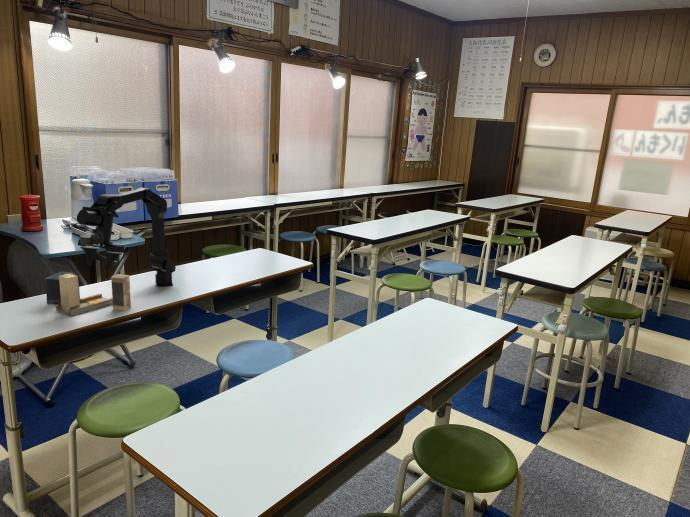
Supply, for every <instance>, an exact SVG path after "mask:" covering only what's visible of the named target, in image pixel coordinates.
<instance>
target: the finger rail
mask: <svg viewBox="0 0 690 517" xmlns="http://www.w3.org/2000/svg"><path fill="white" fill-rule="evenodd" d="M78 277H79V276H78V275H76V274H75V275H73V274H65V275H60V276H59V283H60V295H61V304H60V305H58V304H55V312H57V311H58V313H60V314H63V315H66V316H69V317H74V316H77V315H80V314H84V313H88V312H91V311H94V310H97V309H101V308H103V306H104V307H106V306H110V304H111V305H113V299H112V297H109V298H108V297H105V296H104V297H103V294H102V293H97V294H94V295H93V294H92V295H90V296H87V297H86V296H85V297H82V298H81V293H80V281H79V278H78ZM100 307H101V308H100Z"/></svg>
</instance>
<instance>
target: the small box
mask: <svg viewBox="0 0 690 517" xmlns="http://www.w3.org/2000/svg"><path fill="white" fill-rule="evenodd" d="M65 274H73V275H76V272H69V271H61V270H60V271H58V272H57V273H54V274H51V275H50V276H47V277H45V278H44V279H45V280H44V281H45V291H46V293H45V294H46V304H48V305H60V304H61V295H60V283H59V276H60V275H65Z"/></svg>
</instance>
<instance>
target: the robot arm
mask: <svg viewBox="0 0 690 517" xmlns="http://www.w3.org/2000/svg"><path fill="white" fill-rule="evenodd" d="M137 201H141V202H142V203H143V204H144V205H145V208H146V212H147V214H148V215H149V217H150V218H151V229H152V230H151V231H152V233H151V235H152V245H153V250H152V252H151V253H149V255H148V259H149V260H148V261H149V262H148V263H149V264H150V265H149V266H151V269H152V271H154V272H155V271H156V273H155V274H154V277H155V278H154V280H155V282H154V283H155V285H156V286H157V287H169V286H171V287H172V286H173V285H174V284H173V273H174V272H176V265H175V264H174V263H173V262H172V260H171V256H170V254H169V252H168V250H167V249H166V248H167V247H166V237H165V234H166V233H165V221H164V218H165V216H166V213H167V212H168V201H167V200H166V199H165V198H163V197H162V196H160V195H159V194H157V193H155V192H153V191H152V189H150V188H147V187H138V188H136V189H133V190H128V191H124V192H121V193H117V194H116V193H115V194H114V193H113V194H111V193H110V194H109V193H107V194H104V193H103V194H99V195H98V196H97V199H96V200H95V202H93V203H92V205H91V206H82V208H81V209H80V210H79V211H78V213H77V215H76V221H77V223H78V224H79V225H81V226H88V227H95V228H92V230H91V232H90V233H89V232H88V233H85V234H82V235H80V236H79V239H78V241H77V246H78V247H79V248H80V249H82V251H83V252H84V254H85V258H86V259H85V260H86V262H87V263H86V264H87V266H88V267H91V266H92V264H93V262H94V259H95V257H96V254H97V250H98V248H100V249H104V250H105V251H104V252H103V253H104V254H105V265H104V266H105V268H104V269H105V270H106V271H109V269H110V268H111V267H112V265H113V264H114V263H115V261H116V260H117V259H118V257H120V255H121V256H122V254H124V253H125V250H126V248H125V246H124V245H122V244H116V243H113V241H112V240H111V239H112V235H115V231H113V225H114V219H115V218H117V219H118V218H119V214H118V213H117V212H116V211H117V210H119V209H121V208H122V207H123V206H125V205H126V204H130V203H135V202H137Z"/></svg>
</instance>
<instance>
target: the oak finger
mask: <svg viewBox="0 0 690 517" xmlns="http://www.w3.org/2000/svg"><path fill="white" fill-rule="evenodd" d="M110 279H111V282H110V283H111V295H112V297H111V298H112V299H113V304H112V309H113V310H115V309H119V310H118V311H124V310H125V311H127V310H129V309H130V307H131V308H132V304H131V303H132V302H131V298H132V297H131V281H130V280H131V278H130V275H129V274H120V273H119V274H115V275H112V276H111V277H110ZM128 308H129V309H128Z"/></svg>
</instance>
